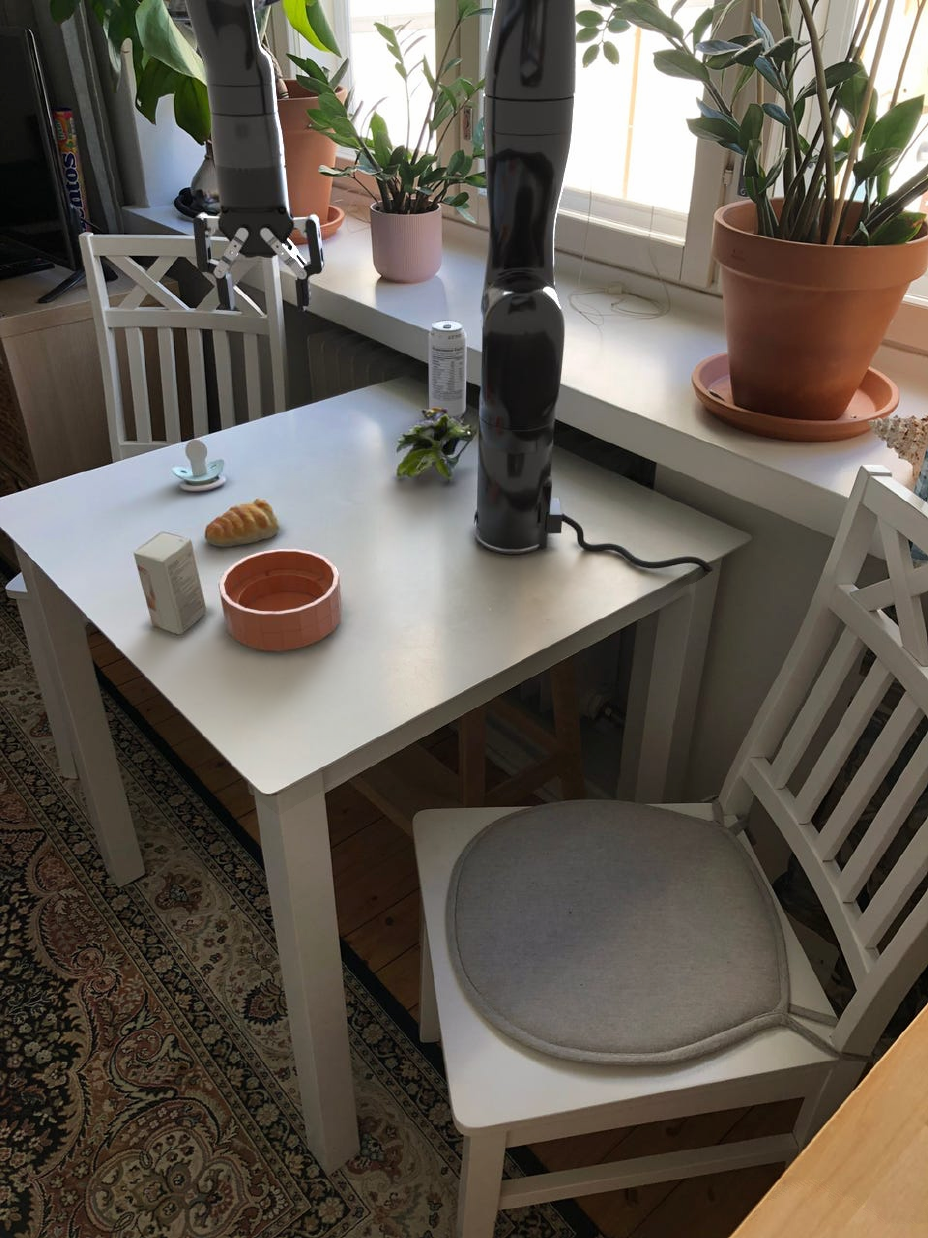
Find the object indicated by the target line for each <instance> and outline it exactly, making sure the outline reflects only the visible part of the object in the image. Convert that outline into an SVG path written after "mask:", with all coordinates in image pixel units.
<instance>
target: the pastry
mask: <svg viewBox="0 0 928 1238" xmlns="http://www.w3.org/2000/svg"><path fill="white" fill-rule="evenodd" d="M280 525H281V524H280V522H279V520H278V517H277V515H276V513H275V512H274V510H273V507H272V506H271V504H270V503H269V502H268V501H266V500H265V499H260V498H257V499H255V500H254V501H252V502H247V503H241V504H239V505H238V504H237V505H234V506H231V507H230V508H229V509H228V510H227V511H226V512H224V513H223V514H222V515H219V516H216V518H214V519H213V520H211V522H209V524H207V525H206V526H205V530H204V539H205V541H206V542H208V543H209V544H212V545H214V546H217V547H223V548H226V547H229V548H231V547H234V546H243V545H249V544H253V543H256V542H260V541H261V540H263V539H265V540H267V539H270V538H272V537H275V535H277V534H278V533H279V530H280V529H281V526H280Z"/></svg>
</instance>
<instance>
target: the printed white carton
mask: <svg viewBox="0 0 928 1238" xmlns="http://www.w3.org/2000/svg"><path fill="white" fill-rule="evenodd" d="M195 554H196V553H195V550H194V545H193V540H192V539H191V538H188V537H184V536H182V535H178V534H174V533H170V532H166V531H160V532H159V533H157V534H156V535H155V536H153V537H152V538H150V539H148V540H147V541H146V542H145V543H143V544H142V545H141V546H139V547H138V548H137V549H136V550H134V551H133V557H134V560H135V564H136V567H137V568H136V569H137V572H138V575H139V581H140V584H141V586H142V590H143V595H144V598H145V602H146V607H147V610H148V614H149V617H150V621H151V624H152V626H154V627H156V628H159V629H161V630H163V631H164V630H165V631H168V632H171V633H173V634H175V635H176V634H177V635H182V634H184V632H186V631H187V630H188V629H190V627H192V626H193V625H194V624H195V623H196V622H197V621H199V620H200V619H201V618H202V617H203V616H204V615H205V614H206V613H207V605H206V600H205V597H204V591H203V587H202V582H201V578H200V573H199V568H198V564H197V559H196V555H195Z"/></svg>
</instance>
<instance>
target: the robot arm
mask: <svg viewBox="0 0 928 1238" xmlns="http://www.w3.org/2000/svg"><path fill="white" fill-rule="evenodd" d="M280 1H281V0H184V4H185V8H186V11H187V14H188V17H189V22H190V25H191V28H192V31H193V35H194V39H195V41H196V44H197V47H198V50H199V53H200V55H201V59H202V61H203V64H204V65H203V66H204V73H205V84H206V92H207V99H208V106H209V113H210V114H209V116H210V138H211V140H210V141H211V147H212V154H213V163H214V168H215V177H216V185H217V193H218V200H219V206H220V213H219V216H218V215H217V216H215V215H208V214H207V212H203V211H202V212H199V214H197V215H196V217H195V218H194V219H193V220H192V223H193V224H192V227H193V236H194V237H193V238H194V245H195V257H196V268H197V270H198V271H199V272H200V273H207V274H211V275H212V276H213V277H214V278H215V282H216V289H217V297H218V302H219V304H220V306H224V309H225V311H233V310H234V308H235V305H236V303H235V294H234V288H233V287H234V286H233V279H232V274H231V273H229V270H230V268H231V266H232V265H233V263H234V261H236V258H237V256H238V255H239V254H240V255H242V256H244V258H245V259H249V258H250V259H252V258H253V259H254V258H257V257H262V258H265V259H273V258H274V257H276V256H277V257H279V259H280V260H281V261H282V262H283V264H284V265H286V266H287V267H289V269H290V270H291V271H292V273H293V274H294V275H295V276H296V278H295V280H294V283H295V284H294V285H295V294H296V295H295V296H296V303H297V304H296V306H297V312H305V311H306V309H307V307H309V305H310V303H311V300H312V294H311V282H310V277H311V276H314V275H319V274H321V273H322V272H323V268H324V267H325V263H326V262H325V255H324V249H323V248H324V247H323V241H322V233H321V226H320V219H319V216H318V215H317V214H315V213H311V214H309V215H308V216H299V217H298V216H297V217H294V216H293V214H292V212H291V208H290V203H289V202H290V200H289V192H288V179H287V169H286V158H285V157H286V148H285V145H284V138H283V131H282V127H281V122H280V117H279V111H278V99H277V89H276V78H275V77H276V76H275V70H274V65H273V61H272V57H271V56H270V54H269V52H268V51H267V50H266V49H265V48H263V47H262V46H261V42H260V38H259V33H258V27H257V22H256V14H255V13H256V12H259V11H261V10H265V9H266V8H268V7H270V6H272V5H275V4H277V3H279V2H280ZM493 9H494V10H493V14H492V18H491V19H492V20H491V25H490V32H489V38H488V43H487V44H488V45H487V51H486V52H487V53H486V60H485V69H484V83H483V118H482V119H483V125H482V127H483V128H482V132H483V133H482V135H483V136H482V137H483V158H484V159H483V162H484V163H483V165H484V177H485V190H486V197H487V199H486V200H487V209H488V242H487V243H488V245H487V254H486V263H485V264H486V266H485V272H484V280H483V288H482V296H481V301H480V309H479V317H480V325H481V374H480V375H481V376H480V377H481V378H480V379H481V380H480V392H479V396H478V397H479V400H478V440H477V441H478V444H477V445H478V446H477V448H478V450H477V481H476V482H477V483H476V485H477V487H476V511H475V513H474V516H473V525H475V526H476V527H475V539H476V541H477V542H478V543H479V545H481V546H482V547H484V548H485V549H487V550H489V551H492V552H496V553H500V554H503V555H521V554H527V553H531V552H534V551H536V550H538V549H547V548H548V544H549V534H562V528H563V523H565V524H566V525H569V526H570V527H571V528H573V529H574V531H575V532H576V536H577V537H576V541H577V544H578V546H579V547H580V548H582V549H583V550H586V551H588V552H601V551H612V552H613V551H614V552H616V553H618V554H620V555H622V556H623V557H624V558H625V559H626V560H627V561H629V562H630V563H631V564H633V565H635V566H637V567H641V568H644V569H651V570H652V569H653V570H654V569H656V570H657V569H664V568H668V567H669V568H670V567H673V566H678V565H684V564H692V565H693V564H694V565H698V566H699V567H701V568H702V569H703V570H704V571H708V572H711V571H713V567H712V566H711V565H710V564H709V563H708V562H707V561H706V560H703V559H702V558H700V557H697V556H689V555H687V556H679V557H674V558H669V559H664V560H658V561H648V560H643V559H640V558H638V557H637V556H635V555H633V554H632V553H631V552H630V551H629V550H628V549H626V548H625V547H623V546H621V545H618V544H616V543H611V542H610V543H608V542H607V543H599V544H590V543H588V542H586V541H585V538H584V537H585V536H584V535H585V534H584V530H583V528H582V526H581V525H580V524H579V522H577V521H576V520H574V518H572V517H570V516H568V515H566V514H565V513H563V510H562V509H563V508H562V502H561V498H560V497H559V498H555V497H553V498H552V491H553V490H552V489H553V480H552V473H551V472H552V462H553V461H552V458H553V446H554V433H555V432H554V431H555V419H556V409H557V403H558V400H559V397H560V393H561V382H562V372H563V360H564V351H565V335H566V328H565V327H566V325H565V318H564V313H563V311H562V307H561V304H560V303H559V299H558V297H557V292H556V281H555V253H554V252H555V249H554V248H555V243H554V242H555V241H554V239H555V226H556V218H557V213H558V209H559V203H560V200H561V196H562V192H563V190H564V189H563V188H564V184H565V180H566V175H567V172H568V168H569V167H568V166H569V162H570V155H571V149H572V142H573V141H572V140H573V134H574V133H573V132H574V119H575V102H576V96H575V95H576V74H577V19H576V16H577V15H576V0H495V3H494V8H493ZM216 228H218V229H219V230H220V232H221V233H222V234H223V235H224V237H226V238H227V240H228V241H229V245H228V246H227V248H226V250H225V251H224V253H223V255H222V256H221V258H220V260H219V261H218V260H216V259H213V252H212V251H213V250H212V239H211V237H213V235H214V234H215V233H216ZM295 229H297V230H298V231H299V233H300V236H301V237H302V238H304V239H306V240H307V241H306V242H307V247H308V254H309V261H306V260H305V259H304V258H303V256H302V255H301V254H300V253H299V250H298V249H297V247H296V245H294V243H293V242H292V241H291V240H290V239H289V238H290V236H291V235H292V233H293V231H294V230H295Z"/></svg>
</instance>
